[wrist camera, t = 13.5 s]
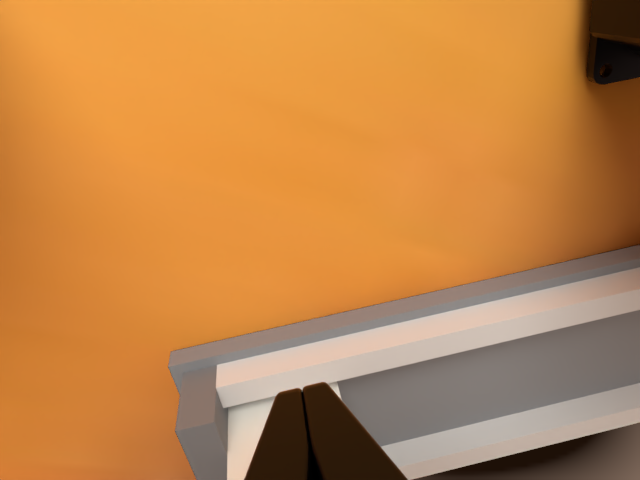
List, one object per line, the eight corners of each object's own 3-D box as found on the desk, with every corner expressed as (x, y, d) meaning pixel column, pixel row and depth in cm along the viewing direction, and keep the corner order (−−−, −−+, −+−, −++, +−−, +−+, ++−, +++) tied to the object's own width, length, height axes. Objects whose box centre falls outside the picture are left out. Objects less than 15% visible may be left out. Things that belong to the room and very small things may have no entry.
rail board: (707, 229, 23) (795, 274, 20) (669, 380, 28) (735, 439, 25) (170, 351, 22) (157, 425, 18) (226, 489, 27) (225, 570, 23)
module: (334, 371, 23) (358, 464, 18) (349, 445, 25) (373, 542, 21) (228, 397, 22) (226, 497, 18) (254, 468, 25) (258, 572, 20)
